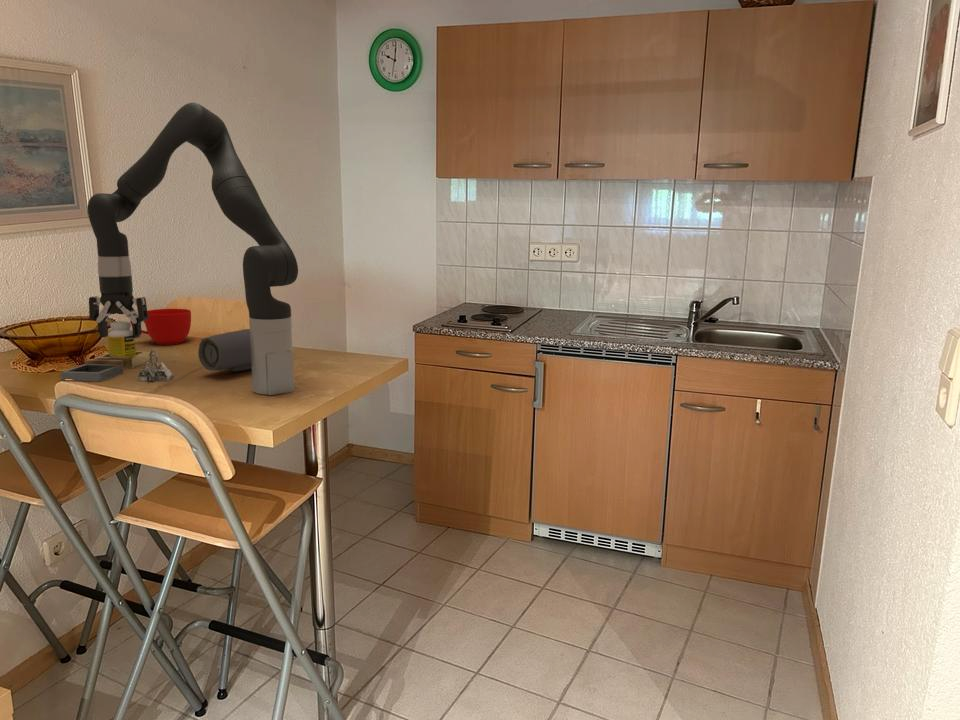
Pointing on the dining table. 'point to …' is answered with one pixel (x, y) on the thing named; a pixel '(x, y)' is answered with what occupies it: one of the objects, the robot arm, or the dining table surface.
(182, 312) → the ceramic cup
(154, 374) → the house of cards
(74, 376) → the graphite socket
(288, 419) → the dining table surface
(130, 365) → the brass socket
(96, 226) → the robot arm
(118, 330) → the pill bottle
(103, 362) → the door edge sill
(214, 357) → the bluetooth speaker
